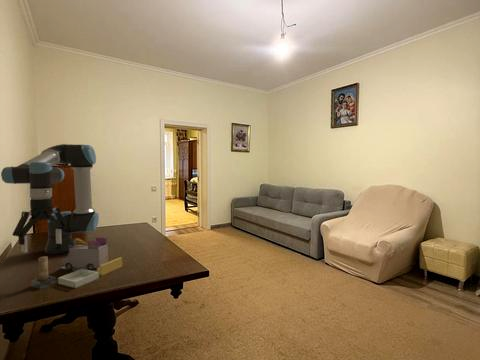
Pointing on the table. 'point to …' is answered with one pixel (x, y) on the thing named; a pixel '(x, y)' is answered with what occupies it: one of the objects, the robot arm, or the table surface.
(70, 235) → the robot arm
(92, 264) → the toy vehicle
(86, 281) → the tray
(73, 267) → the mat
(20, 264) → the table surface
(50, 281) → the socket
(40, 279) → the pin
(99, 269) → the block
